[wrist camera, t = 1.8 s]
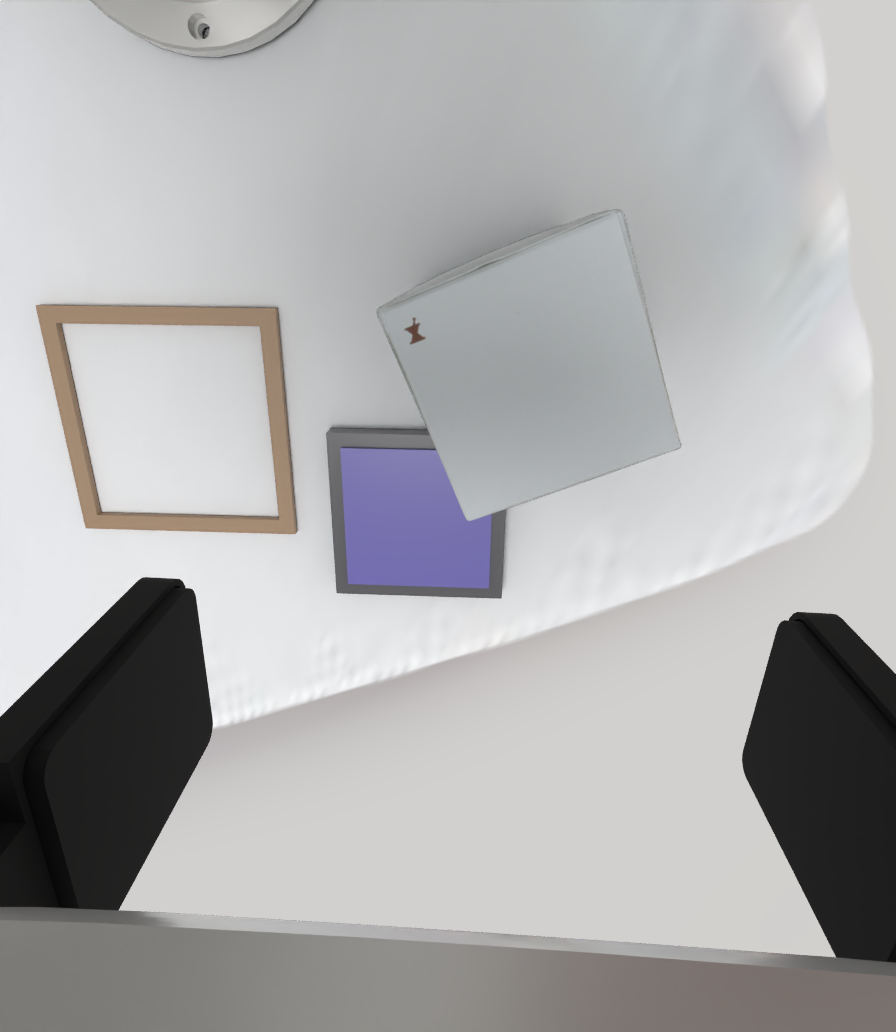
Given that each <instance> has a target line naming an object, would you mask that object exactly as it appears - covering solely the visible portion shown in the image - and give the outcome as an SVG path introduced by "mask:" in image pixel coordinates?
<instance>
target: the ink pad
mask: <svg viewBox="0 0 896 1032" xmlns="http://www.w3.org/2000/svg"><path fill="white" fill-rule="evenodd" d="M326 436H327V452H328V467H329V482H330V497H331V513H332V528H333V543H334V559H335V574H336V589H337V593H347V594H378V595H409V596H439V597H470V598H501V597H502V575H503V553H504V531H505V509H504V510H501V511H499V512H496V513H493V514H490V515H487V516H484V517H481V518H478V519H475V520H472V521H468V520H466V518H465V516H464V514H463V511H462V509H461V507H460V504H459V502H458V499H457V497H456V495H455V492H454V490H453V487H452V485H451V483H450V480H449V478H448V475H447V473H446V471H445V468H444V466H443V464H442V462H441V459H440V457H439V455H438V452H437V450H436V448H435V446H434V443H433V441H432V439H431V436H430V434H429V432H428V430H402V429H354V428H330V429H329V431H328V432H327V433H326Z"/></svg>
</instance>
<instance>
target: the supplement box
mask: <svg viewBox="0 0 896 1032" xmlns="http://www.w3.org/2000/svg"><path fill="white" fill-rule="evenodd" d="M377 316H378V318H379V320H380V322H381V325H382V327H383V329H384V332H385V334H386V336H387V338H388V341H389V343H390V345H391V348H392V350H393V352H394V354H395V357H396V359H397V361H398V363H399V366H400V368H401V370H402V373H403V375H404V377H405V379H406V382H407V384H408V386H409V389H410V391H411V393H412V395H413V398H414V400H415V402H416V404H417V407H418V409H419V411H420V414H421V416H422V418H423V420H424V423H425V425H426V427H427V430H428V432H429V434H430V436H431V439H432V441H433V443H434V446H435V448H436V450H437V452H438V455H439V457H440V459H441V462H442V464H443V466H444V468H445V471H446V473H447V475H448V478H449V480H450V483H451V485H452V487H453V490H454V492H455V495H456V497H457V499H458V502H459V504H460V507H461V509H462V511H463V514H464V516H465V518H466V520H468V521H472V520H475V519H478V518H481V517H484V516H487V515H490V514H493V513H496V512H499V511H501V510H504V509H507V508H511V507H514V506H516V505H519V504H522V503H525V502H528V501H531V500H534V499H537V498H539V497H542V496H545V495H548V494H551V493H554V492H557V491H560V490H562V489H565V488H568V487H571V486H574V485H577V484H580V483H583V482H585V481H588V480H591V479H594V478H597V477H600V476H603V475H606V474H608V473H611V472H614V471H617V470H620V469H622V468H625V467H628V466H631V465H634V464H636V463H639V462H642V461H645V460H648V459H651V458H654V457H657V456H659V455H662V454H665V453H668V452H671V451H674V450H677V449H679V448H680V447H681V442H680V439H679V436H678V432H677V429H676V425H675V421H674V418H673V414H672V409H671V406H670V402H669V398H668V394H667V390H666V386H665V382H664V378H663V374H662V369H661V365H660V361H659V357H658V353H657V348H656V344H655V340H654V336H653V332H652V328H651V323H650V319H649V315H648V311H647V307H646V303H645V298H644V294H643V290H642V286H641V282H640V278H639V274H638V270H637V265H636V261H635V257H634V253H633V249H632V245H631V241H630V237H629V233H628V228H627V224H626V220H625V215H624V214H623V212H622V211H621V210H619V209H614V210H609V211H603V212H599V213H595V214H592V215H589V216H587V217H584V218H581V219H578V220H576V221H573V222H570V223H568V224H565V225H561V226H558V227H555V228H552V229H549V230H546V231H543V232H541V233H538V234H535V235H533V236H530V237H527V238H525V239H522V240H520V241H517V242H515V243H512V244H509V245H507V246H504V247H502V248H500V249H497V250H495V251H492V252H490V253H487V254H485V255H483V256H481V257H478V258H476V259H474V260H472V261H469V262H467V263H465V264H463V265H460V266H458V267H456V268H454V269H452V270H450V271H447V272H445V273H443V274H441V275H439V276H437V277H435V278H433V279H431V280H429V281H427V282H425V283H422V284H420V285H417V286H416V287H415V288H413V289H411V290H410V291H408V292H406V293H404V294H403V295H401V296H399V297H397V298H395V299H394V300H392V301H390V302H388V303H387V304H385V305H383V306H381V307H379V308H378V310H377Z"/></svg>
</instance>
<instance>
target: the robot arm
mask: <svg viewBox="0 0 896 1032" xmlns="http://www.w3.org/2000/svg"><path fill="white" fill-rule="evenodd" d="M90 1H91V2H93V3H94V4H95V5H96V6H97V7H98V8H99V9H100V10H101V11H102V12H103V13H105V14H106V15H107V16H108V17H109V18H111V19H112V20H113V21H115V22H116V23H118V24H119V25H121V26H122V27H124V28H125V29H127V30H128V31H130V32H131V33H133V34H135V35H137V36H139V37H141V38H143V39H145V40H146V41H148V42H150V43H152V44H154V45H156V46H158V47H160V48H163V49H167V50H170V51H174V52H178V53H181V54H185V55H188V56H204V57H221V56H227V55H232V54H238V53H243V52H246V51H249V50H251V49H253V48H255V47H258V46H260V45H262V44H265V43H267V42H269V41H271V40H273V39H274V38H275V37H277V36H278V35H279V34H281V33H282V32H283V31H285V30H286V29H287V28H288V27H290V26H291V25H292V24H294V23H295V22H296V21H297V20H298V19H299V17H300V16H301V15H302V14H303V13H304V12H305V10H306V9H307V8H308V7H309V6H310V5H311V4H312V2H313V1H314V0H90ZM205 27H210V30H209V35H208V36H207V37H206V39H203V36H202V31H203V29H204V28H205ZM212 726H213V721H212V712H211V705H210V698H209V690H208V683H207V676H206V668H205V661H204V654H203V646H202V639H201V632H200V624H199V617H198V610H197V602H196V596H195V593H194V591H193V590H192V589H188V588H185V585H184V583H183V582H182V581H181V580H180V579H167V578H149V577H145V578H141V579H140V580H138V581H137V582H136V583H135V584H134V585H133V586H132V587H131V588H130V589H129V590H128V591H127V592H126V593H125V594H124V595H123V596H122V597H121V598H120V599H119V600H118V601H117V602H116V603H115V604H114V605H113V606H112V607H111V608H110V609H109V610H108V611H107V612H106V613H105V614H104V615H103V616H102V617H101V618H100V619H99V620H98V621H97V622H96V623H95V624H94V625H93V626H92V627H91V628H90V629H89V630H88V631H87V632H86V633H85V634H84V635H83V636H82V637H81V638H80V639H79V640H78V641H77V642H76V643H75V644H74V645H73V646H72V647H71V648H70V649H69V650H68V651H67V652H66V653H65V654H64V655H63V656H62V657H60V658H59V659H58V660H57V661H56V662H55V663H54V664H53V665H52V666H51V667H50V668H49V669H48V670H47V671H46V672H45V673H44V674H43V675H42V676H41V677H40V678H39V679H38V680H37V681H36V682H35V683H34V684H33V685H32V686H31V687H30V688H29V689H28V690H27V691H26V692H25V693H24V694H23V695H22V696H21V697H20V698H19V699H18V700H17V701H16V702H15V703H14V704H13V705H12V706H11V707H10V708H9V709H8V710H7V711H6V712H5V713H4V714H3V715H2V716H1V717H0V1032H896V674H895V673H894V672H893V671H892V670H891V669H890V668H889V667H888V666H887V665H886V664H885V663H884V662H883V661H882V660H881V659H880V657H878V655H876V653H875V652H874V651H873V650H872V649H871V648H870V647H869V646H868V645H867V644H866V643H865V642H864V641H863V640H862V639H861V638H860V637H859V636H858V635H857V634H856V633H855V632H854V631H853V630H852V629H851V628H850V627H849V626H848V625H847V624H846V622H845V621H844V620H843V619H842V618H840V617H839V616H837V615H835V614H825V613H824V614H823V613H805V612H796V613H794V614H793V615H792V616H791V617H790V619H789V621H785V620H784V621H782V622H781V623H780V624H779V626H778V628H777V631H776V635H775V639H774V642H773V646H772V650H771V653H770V656H769V660H768V664H767V667H766V671H765V674H764V678H763V682H762V685H761V689H760V692H759V696H758V699H757V703H756V707H755V711H754V714H753V718H752V721H751V725H750V728H749V732H748V735H747V739H746V743H745V746H744V750H743V755H742V762H743V769H744V773H745V776H746V778H747V780H748V782H749V784H750V786H751V788H752V790H753V792H754V794H755V796H756V798H757V800H758V802H759V804H760V806H761V808H762V810H763V812H764V814H765V816H766V818H767V820H768V822H769V824H770V826H771V828H772V830H773V832H774V834H775V836H776V838H777V840H778V842H779V844H780V846H781V848H782V850H783V852H784V854H785V856H786V858H787V860H788V862H789V864H790V866H791V868H792V870H793V871H794V874H795V876H796V878H797V880H798V882H799V884H800V886H801V888H802V890H803V892H804V894H805V896H806V898H807V900H808V902H809V904H810V906H811V908H812V910H813V912H814V914H815V916H816V918H817V920H818V922H819V924H820V926H821V928H822V930H823V932H824V934H825V936H826V937H827V940H828V942H829V944H830V945H831V948H832V950H833V952H834V953H835V955H836V958H834V957H822V956H808V955H793V954H781V953H767V952H753V951H740V950H726V949H712V948H698V947H684V946H670V945H657V944H643V943H630V942H616V941H601V940H586V939H572V938H556V937H541V936H527V935H513V934H498V933H483V932H468V931H467V932H466V931H453V930H437V929H422V928H407V927H392V926H377V925H361V924H344V923H328V922H312V921H296V920H280V919H263V918H247V917H230V916H214V915H197V914H181V913H164V912H141V911H118V910H119V908H120V906H121V905H122V903H123V901H124V899H125V897H126V895H127V893H128V892H129V890H130V888H131V886H132V884H133V882H134V881H135V879H136V877H137V875H138V873H139V871H140V869H141V868H142V866H143V864H144V862H145V860H146V858H147V856H148V855H149V853H150V851H151V849H152V847H153V845H154V843H155V841H156V840H157V838H158V836H159V834H160V832H161V831H162V828H163V827H164V825H165V823H166V821H167V820H168V818H169V815H170V814H171V812H172V810H173V808H174V807H175V805H176V803H177V801H178V799H179V797H180V795H181V794H182V792H183V790H184V788H185V786H186V784H187V783H188V781H189V779H190V777H191V775H192V773H193V771H194V770H195V768H196V766H197V764H198V762H199V760H200V759H201V756H202V755H203V753H204V751H205V749H206V747H207V746H208V743H209V741H210V738H211V733H212Z"/></svg>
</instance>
